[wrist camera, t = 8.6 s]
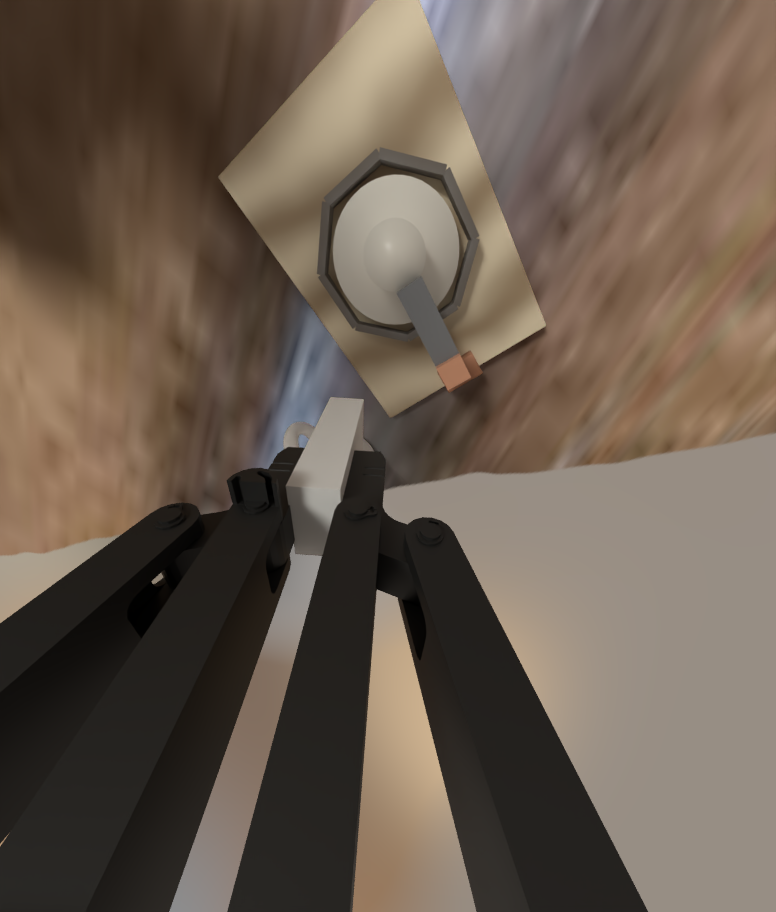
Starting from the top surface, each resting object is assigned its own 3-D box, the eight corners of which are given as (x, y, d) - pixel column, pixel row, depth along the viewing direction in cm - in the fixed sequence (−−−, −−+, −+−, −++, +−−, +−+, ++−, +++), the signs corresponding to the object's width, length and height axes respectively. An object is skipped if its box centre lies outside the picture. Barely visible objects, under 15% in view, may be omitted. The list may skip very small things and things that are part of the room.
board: (225, 180, 25) (206, 171, 23) (405, -19, 20) (406, -57, 17) (392, 416, 35) (392, 427, 33) (542, 327, 30) (554, 332, 28)
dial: (312, 234, 26) (285, 225, 20) (419, 145, 23) (425, 104, 17) (404, 386, 32) (404, 413, 26) (497, 332, 29) (521, 350, 23)
